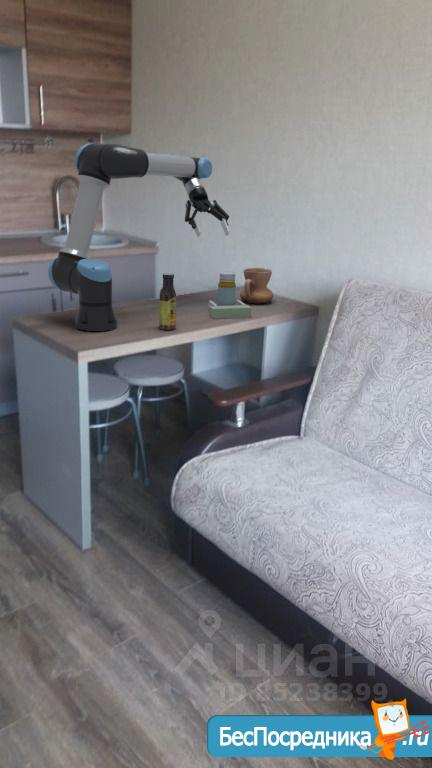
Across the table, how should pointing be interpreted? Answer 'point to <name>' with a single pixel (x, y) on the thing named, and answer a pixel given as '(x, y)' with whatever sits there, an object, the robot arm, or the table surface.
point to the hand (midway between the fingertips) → (213, 234)
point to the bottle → (226, 289)
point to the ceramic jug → (256, 285)
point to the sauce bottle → (167, 303)
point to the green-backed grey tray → (229, 310)
